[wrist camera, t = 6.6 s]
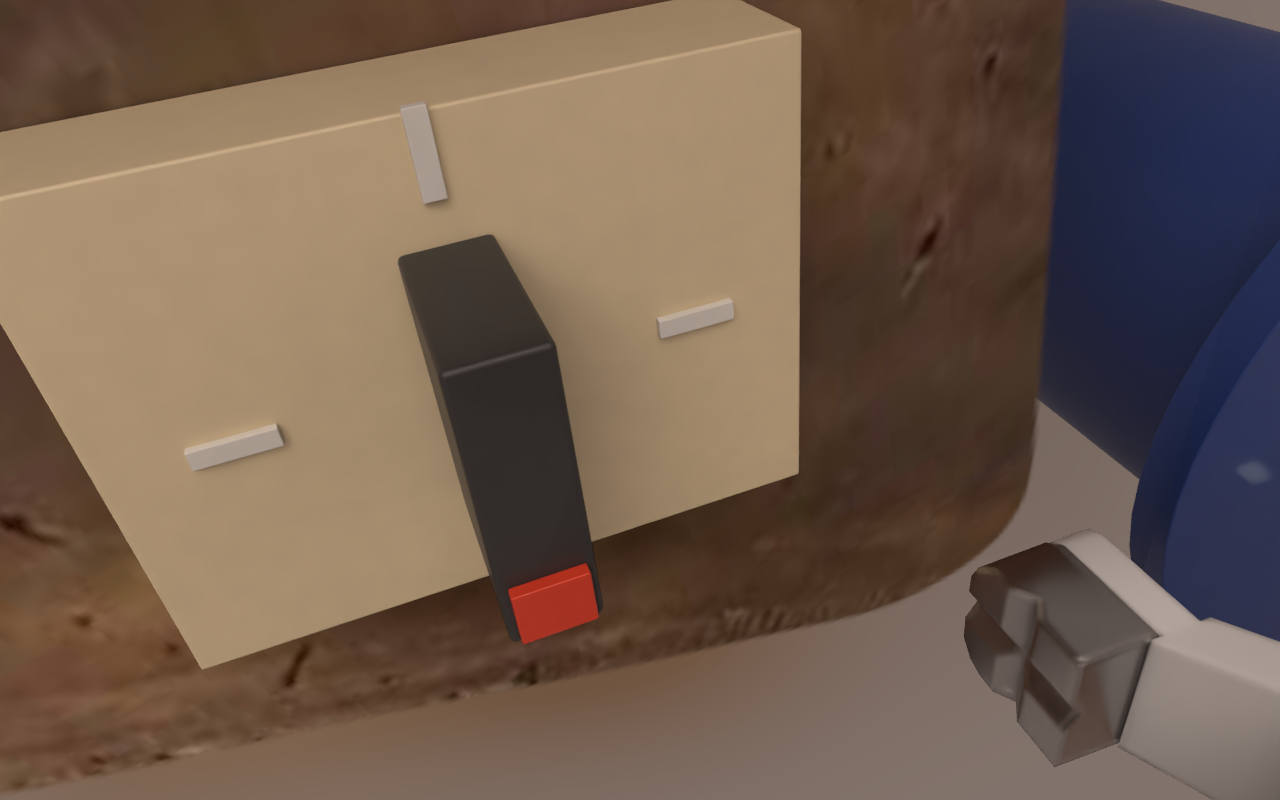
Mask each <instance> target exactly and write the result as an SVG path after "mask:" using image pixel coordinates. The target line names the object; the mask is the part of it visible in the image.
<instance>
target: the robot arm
mask: <svg viewBox="0 0 1280 800" xmlns="http://www.w3.org/2000/svg"><path fill="white" fill-rule="evenodd" d="M969 591H970V593H971V594H972V595H973V596H974V597H975V598H976V599H977V603H976V604H975V605H974V606H973V608H972V609H971V611H970V612H969V613H968V614H967V616H966V619H965V630H964V638H965V642H966V645H967V648H968V652H969V655H970V658H971V660H972V662H973V664H974V666H975V667H976V669H977V671H978V673H979V674H980V676H981V677H982V678H983V680H984V681H985V682H986V683H987V685H988V686H989V687H990V688H991V690H992V691H993V692H995V693H997V694H1000V695H1002V696H1004V697H1006V698H1009V699H1011V700H1013V701H1015V702H1016V709H1017V722H1018V723H1019V724H1020V726H1021V727H1022V728H1023V729H1024V730H1025V732H1026V733H1027V734H1028V735H1029V736H1030V738H1031V739H1032V740H1033V741H1034V743H1035V744H1036V745H1037V746H1038V748H1039V749H1040V750H1041V751H1042V752H1043V754H1045V756H1046V757H1047V758H1048V760H1049V761H1050V762H1051V763H1052V765H1053V766H1054V767H1056V766H1059V765H1062V764H1064V763H1067V762H1069V761H1072V760H1075V759H1078V758H1080V757H1083V756H1086V755H1088V754H1091V753H1093V752H1096V751H1099V750H1101V749H1104V748H1107V747H1109V746H1111V745H1114V744H1117V743H1119V746H1118V747H1119V748H1120V749H1122V750H1124V751H1126V752H1128V753H1129V754H1131V755H1133V756H1135V757H1137V758H1138V759H1140V760H1142V761H1144V762H1145V763H1147V764H1149V765H1151V766H1153V767H1154V768H1157V769H1158V770H1160V771H1162V772H1163V773H1165V774H1167V775H1169V776H1171V777H1172V778H1174V779H1176V780H1178V781H1180V782H1182V783H1183V784H1185V785H1187V786H1189V787H1191V788H1192V789H1194V790H1196V791H1198V792H1200V793H1201V794H1203V795H1205V796H1207V797H1209V798H1210V799H1212V800H1280V642H1279V641H1276V640H1273V639H1271V638H1268V637H1265V636H1262V635H1259V634H1257V633H1254V632H1251V631H1248V630H1245V629H1242V628H1240V627H1237V626H1234V625H1231V624H1228V623H1226V622H1223V621H1220V620H1217V619H1214V618H1212V617H1210V618H1207V619H1204V620H1201V621H1200V620H1198V619H1197V618H1196V617H1195V616H1194V615H1193V614H1192V613H1191V612H1189V611H1188V610H1187V609H1186V608H1185V607H1184V606H1183V605H1181V604H1180V603H1179V602H1178V601H1177V600H1176V599H1175V598H1173V597H1172V596H1171V595H1170V594H1169V593H1168V592H1167V591H1166V590H1164V589H1163V588H1162V587H1161V586H1160V585H1159V584H1158V583H1156V582H1155V581H1154V580H1153V579H1152V578H1151V577H1150V576H1148V575H1147V574H1146V573H1145V572H1144V571H1143V570H1142V569H1141V568H1139V567H1138V566H1137V565H1136V564H1135V563H1134V562H1133V561H1131V560H1130V559H1129V558H1128V557H1127V556H1126V555H1125V554H1123V553H1122V552H1121V551H1120V550H1119V549H1118V548H1117V547H1116V546H1114V545H1113V544H1112V543H1111V542H1110V541H1109V540H1107V539H1106V538H1105V537H1104V536H1103V535H1102V534H1100V533H1098V532H1096V531H1093V530H1090V529H1087V530H1083V531H1079V532H1077V533H1074V534H1071V535H1069V536H1066V537H1063V538H1061V539H1058V540H1056V541H1053V542H1050V543H1043V544H1041V545H1038V546H1036V547H1033V548H1030V549H1028V550H1025V551H1022V552H1020V553H1017V554H1014V555H1011V556H1009V557H1006V558H1004V559H1001V560H998V561H995V562H993V563H990V564H988V565H985V566H982V567H979V568H978V569H977V571H975V573H974V574H973V575H972V577H971V583H970V590H969Z"/></svg>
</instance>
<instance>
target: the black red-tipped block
mask: <svg viewBox="0 0 1280 800" xmlns="http://www.w3.org/2000/svg"><path fill="white" fill-rule="evenodd" d="M398 266H399V270H400V274H401V277H402V281H403V284H404V288H405V291H406V295H407V298H408V302H409V305H410V309H411V313H412V316H413V320H414V323H415V327H416V330H417V334H418V337H419V341H420V344H421V348H422V351H423V355H424V359H425V362H426V366H427V369H428V373H429V376H430V380H431V383H432V387H433V390H434V394H435V398H436V401H437V405H438V408H439V412H440V415H441V419H442V422H443V426H444V429H445V433H446V437H447V440H448V444H449V447H450V451H451V454H452V458H453V461H454V465H455V468H456V472H457V476H458V479H459V483H460V486H461V490H462V493H463V497H464V500H465V504H466V507H467V510H468V513H469V516H470V519H471V522H472V525H473V528H474V531H475V534H476V537H477V540H478V543H479V546H480V549H481V552H482V555H483V559H484V562H485V565H486V568H487V571H488V574H489V577H490V580H491V583H492V586H493V589H494V592H495V595H496V598H497V601H498V604H499V607H500V610H501V613H502V616H503V619H504V622H505V625H506V629H507V632H508V635H509V637H510V638H511V639H512V640H513V641H519V640H522V643H523V644H527V643H530V642H532V641H535V640H538V639H541V638H544V637H547V636H549V635H552V634H555V633H558V632H561V631H564V630H567V629H569V628H572V627H575V626H578V625H581V624H584V623H586V622H589V621H592V620H595V619H598V618H599V614H598V613H599V612H600V611H602V608H603V602H602V596H601V591H600V585H599V580H598V574H597V569H596V563H595V558H594V552H593V547H592V541H591V535H590V530H589V524H588V519H587V513H586V508H585V502H584V497H583V491H582V486H581V480H580V475H579V469H578V464H577V458H576V452H575V447H574V441H573V436H572V430H571V425H570V419H569V414H568V408H567V403H566V397H565V392H564V386H563V380H562V375H561V369H560V364H559V358H558V353H557V347H556V344H555V342H554V340H553V339H552V337H551V335H550V333H549V331H548V330H547V328H546V326H545V324H544V323H543V321H542V319H541V317H540V316H539V314H538V312H537V310H536V309H535V307H534V305H533V303H532V302H531V300H530V298H529V296H528V295H527V293H526V291H525V289H524V288H523V286H522V284H521V282H520V281H519V279H518V277H517V275H516V273H515V272H514V270H513V268H512V266H511V265H510V263H509V261H508V259H507V258H506V256H505V254H504V252H503V251H502V249H501V247H500V245H499V244H498V242H497V240H496V238H495V237H494V236H493V235H488V234H487V235H483V236H479V237H475V238H471V239H467V240H463V241H459V242H455V243H451V244H447V245H443V246H439V247H435V248H431V249H427V250H423V251H419V252H415V253H411V254H407V255H403V256H401V257H399V259H398Z"/></svg>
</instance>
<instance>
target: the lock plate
mask: <svg viewBox="0 0 1280 800" xmlns="http://www.w3.org/2000/svg"><path fill="white" fill-rule="evenodd" d="M800 173H801V30H800V29H799V28H797V27H795V26H793V25H791V24H789V23H787V22H785V21H783V20H781V19H779V18H776V17H774V16H772V15H770V14H768V13H766V12H764V11H762V10H760V9H758V8H755V7H753V6H751V5H749V4H747V3H745V2H743V1H741V0H672V1H667V2H662V3H656V4H651V5H646V6H641V7H636V8H631V9H626V10H621V11H616V12H611V13H606V14H600V15H595V16H590V17H585V18H580V19H575V20H570V21H565V22H560V23H555V24H549V25H544V26H539V27H534V28H529V29H524V30H519V31H514V32H509V33H504V34H499V35H493V36H488V37H483V38H478V39H473V40H468V41H463V42H458V43H453V44H448V45H442V46H437V47H432V48H427V49H422V50H417V51H412V52H407V53H402V54H397V55H392V56H386V57H381V58H376V59H371V60H366V61H361V62H356V63H351V64H346V65H341V66H335V67H330V68H325V69H320V70H315V71H310V72H305V73H300V74H295V75H290V76H285V77H279V78H274V79H269V80H264V81H259V82H254V83H249V84H244V85H239V86H234V87H228V88H223V89H218V90H213V91H208V92H203V93H198V94H193V95H188V96H183V97H177V98H172V99H167V100H162V101H157V102H152V103H147V104H142V105H137V106H132V107H127V108H121V109H116V110H111V111H106V112H101V113H96V114H91V115H86V116H81V117H76V118H70V119H65V120H60V121H55V122H50V123H45V124H40V125H35V126H30V127H25V128H20V129H14V130H9V131H4V132H0V323H1V325H2V327H3V329H4V330H5V332H6V334H7V335H8V337H9V339H10V341H11V342H12V344H13V346H14V348H15V349H16V351H17V353H18V354H19V356H20V358H21V360H22V361H23V363H24V365H25V366H26V368H27V370H28V372H29V373H30V375H31V377H32V378H33V380H34V382H35V384H36V385H37V387H38V389H39V390H40V392H41V394H42V396H43V397H44V399H45V401H46V403H47V404H48V406H49V408H50V409H51V411H52V413H53V415H54V416H55V418H56V420H57V421H58V423H59V425H60V427H61V428H62V430H63V432H64V433H65V435H66V437H67V439H68V440H69V442H70V444H71V445H72V447H73V449H74V451H75V452H76V454H77V456H78V458H79V459H80V461H81V463H82V464H83V466H84V468H85V470H86V471H87V473H88V475H89V476H90V478H91V480H92V482H93V483H94V485H95V487H96V488H97V490H98V492H99V494H100V495H101V497H102V499H103V500H104V502H105V504H106V506H107V507H108V509H109V511H110V513H111V514H112V516H113V518H114V519H115V521H116V523H117V525H118V526H119V528H120V530H121V531H122V533H123V535H124V537H125V538H126V540H127V542H128V543H129V545H130V547H131V549H132V550H133V552H134V554H135V555H136V557H137V559H138V561H139V562H140V564H141V566H142V568H143V569H144V571H145V573H146V574H147V576H148V578H149V580H150V581H151V583H152V585H153V586H154V588H155V590H156V592H157V593H158V595H159V597H160V598H161V600H162V602H163V604H164V605H165V607H166V609H167V610H168V612H169V614H170V616H171V617H172V619H173V621H174V623H175V624H176V626H177V628H178V629H179V631H180V633H181V635H182V636H183V638H184V640H185V641H186V643H187V645H188V647H189V648H190V650H191V652H192V653H193V655H194V657H195V659H196V660H197V662H198V664H199V665H200V667H201V669H207V668H210V667H213V666H216V665H219V664H222V663H225V662H228V661H231V660H234V659H237V658H240V657H243V656H246V655H249V654H252V653H255V652H258V651H261V650H264V649H267V648H271V647H274V646H277V645H280V644H283V643H286V642H289V641H292V640H295V639H298V638H301V637H304V636H307V635H310V634H313V633H316V632H319V631H322V630H325V629H328V628H331V627H334V626H337V625H340V624H343V623H347V622H350V621H353V620H356V619H359V618H362V617H365V616H368V615H371V614H374V613H377V612H380V611H383V610H386V609H389V608H392V607H395V606H398V605H401V604H404V603H407V602H410V601H413V600H416V599H419V598H423V597H426V596H429V595H432V594H435V593H438V592H441V591H444V590H447V589H450V588H453V587H456V586H459V585H462V584H465V583H468V582H471V581H474V580H477V579H480V578H483V577H486V576H489V574H488V571H487V568H486V565H485V562H484V559H483V555H482V552H481V549H480V546H479V543H478V540H477V537H476V534H475V531H474V528H473V525H472V522H471V519H470V516H469V513H468V510H467V507H466V504H465V500H464V497H463V493H462V490H461V486H460V483H459V479H458V476H457V472H456V468H455V465H454V461H453V458H452V454H451V451H450V447H449V444H448V440H447V437H446V433H445V429H444V426H443V422H442V419H441V415H440V412H439V408H438V405H437V401H436V398H435V394H434V390H433V387H432V383H431V380H430V376H429V373H428V369H427V366H426V362H425V359H424V355H423V351H422V348H421V344H420V341H419V337H418V334H417V330H416V327H415V323H414V320H413V316H412V313H411V309H410V305H409V302H408V298H407V295H406V291H405V288H404V284H403V281H402V277H401V274H400V270H399V266H398V259H399V257H401V256H403V255H407V254H411V253H415V252H419V251H423V250H427V249H431V248H435V247H439V246H443V245H447V244H451V243H455V242H459V241H463V240H467V239H471V238H475V237H479V236H483V235H487V234H488V235H493V236H494V237H495V238H496V240H497V242H498V244H499V245H500V247H501V249H502V251H503V252H504V254H505V256H506V258H507V259H508V261H509V263H510V265H511V266H512V268H513V270H514V272H515V273H516V275H517V277H518V279H519V281H520V282H521V284H522V286H523V288H524V289H525V291H526V293H527V295H528V296H529V298H530V300H531V302H532V303H533V305H534V307H535V309H536V310H537V312H538V314H539V316H540V317H541V319H542V321H543V323H544V324H545V326H546V328H547V330H548V331H549V333H550V335H551V337H552V339H553V340H554V342H555V344H556V347H557V353H558V358H559V364H560V369H561V375H562V380H563V386H564V392H565V397H566V403H567V408H568V414H569V419H570V425H571V430H572V436H573V441H574V447H575V452H576V458H577V464H578V469H579V475H580V480H581V486H582V491H583V497H584V502H585V508H586V513H587V519H588V524H589V530H590V535H591V541H592V542H593V541H596V540H599V539H602V538H605V537H608V536H611V535H614V534H617V533H620V532H623V531H626V530H629V529H632V528H635V527H638V526H641V525H644V524H647V523H651V522H654V521H657V520H660V519H663V518H666V517H669V516H672V515H675V514H678V513H681V512H684V511H687V510H690V509H693V508H696V507H699V506H702V505H705V504H708V503H711V502H714V501H717V500H720V499H723V498H726V497H730V496H733V495H736V494H739V493H742V492H745V491H748V490H751V489H754V488H757V487H760V486H763V485H766V484H769V483H772V482H775V481H778V480H781V479H784V478H787V477H790V476H793V475H796V474H798V473H799V342H800Z"/></svg>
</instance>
